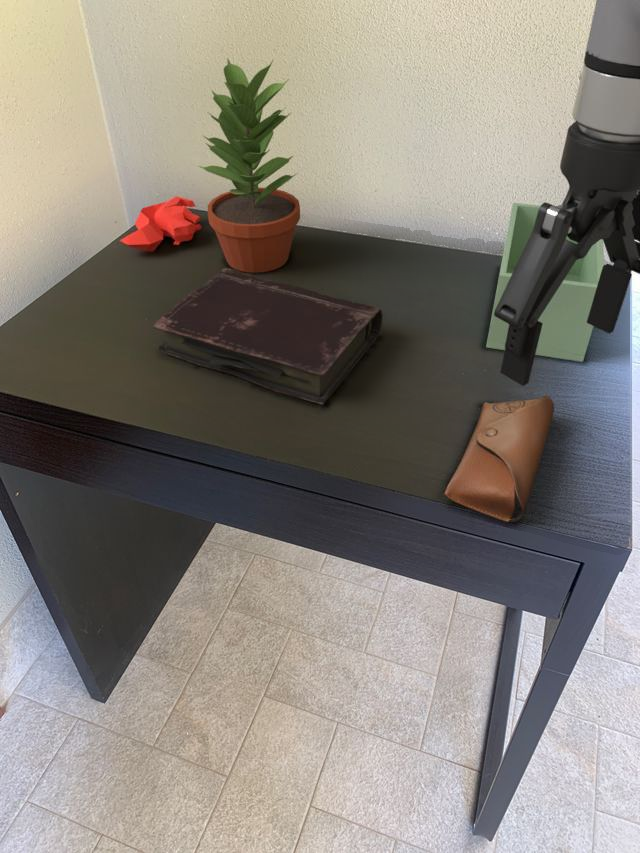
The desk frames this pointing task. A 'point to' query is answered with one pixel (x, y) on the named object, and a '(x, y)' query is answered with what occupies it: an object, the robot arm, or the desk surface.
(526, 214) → the green open box
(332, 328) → the diary
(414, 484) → the desk surface
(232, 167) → the potted plant
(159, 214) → the animal figurine
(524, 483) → the sunglasses case
